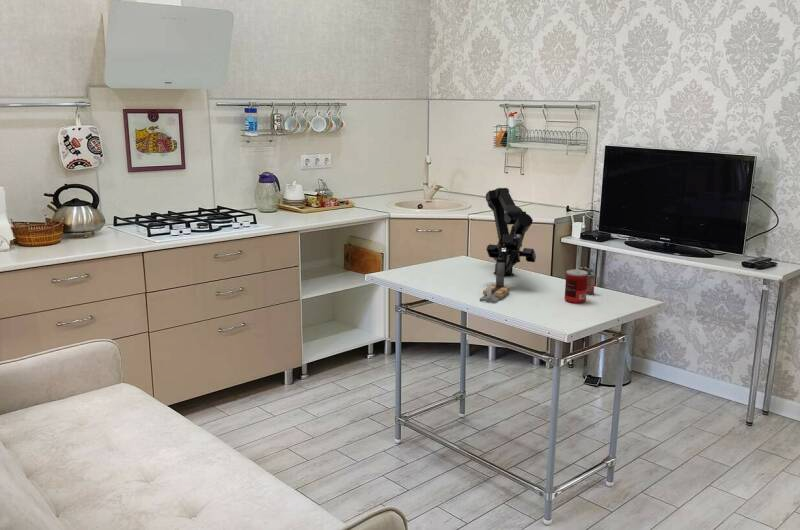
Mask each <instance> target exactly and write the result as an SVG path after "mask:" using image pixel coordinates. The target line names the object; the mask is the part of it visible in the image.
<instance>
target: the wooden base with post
mask: <svg viewBox="0 0 800 530" xmlns="http://www.w3.org/2000/svg"><path fill="white" fill-rule="evenodd" d="M504 270H505V263H501V262H499V263H497V270H496V274H495V284H492V290H491V294H492V293H493V292H495V291H496V292H495V296H496V297H502V296H503V295H505V294H506V293H507V292H509V293H510V291H511V286H506V285H504V284H505V276H504ZM484 295H487V287H486V288H484V289H483V290H482V296H484Z"/></svg>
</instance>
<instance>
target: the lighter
mask: <svg viewBox="0 0 800 530" xmlns="http://www.w3.org/2000/svg"><path fill="white" fill-rule="evenodd" d="M578 270H584V271H586V272H588V280H587V293H586V296H594V295H595V284H596V283H595V282H596V276H597V275H596V274H594V273H595V269H594V268H588V267H586V266H584V267H582V266H580V267H578Z"/></svg>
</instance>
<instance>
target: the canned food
mask: <svg viewBox="0 0 800 530" xmlns="http://www.w3.org/2000/svg"><path fill="white" fill-rule="evenodd" d="M588 273H589V272H586V271H584V270H579V269H569V270H568V269H567V270H566V273H565V283H564V284H565V285H564V286H565V288H564V301H565V302H567V303H570V304H577V305H578V304H579V305H580V304H584V303H585V302H586V300H587V295H586V293H587V280H588Z"/></svg>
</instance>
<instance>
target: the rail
mask: <svg viewBox="0 0 800 530" xmlns="http://www.w3.org/2000/svg"><path fill="white" fill-rule="evenodd" d="M486 283H487V286H486V288H487V295H482V297H480V298H479V302H482V301H486V302H485V303H489V302H492V303H491V304H497V303H498V302H499V301H500V299H501V300H502V299H503V298H505V297H506V296H508V295H509V294H510V291H509V292H507V293H506V294H505V295H503V296H502V297H496V296H495V292H496V291H495V292H493V293H492V294H491V290H492V283H493V282H492V281H491V282H490V281H489V282H486ZM507 294H508V295H507Z"/></svg>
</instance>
